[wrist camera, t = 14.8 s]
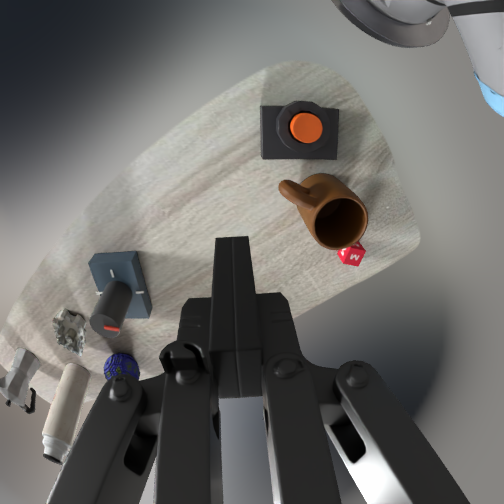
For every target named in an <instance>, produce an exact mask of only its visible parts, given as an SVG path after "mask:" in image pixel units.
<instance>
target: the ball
mask: <svg viewBox="0 0 504 504" xmlns="http://www.w3.org/2000/svg"><path fill="white" fill-rule="evenodd" d="M139 370H140V369H139V367H138V364H137V362H136V361H135V360H134V359H133V358H132V357H131V356H129V355H126V354H121V353H118V354H113V355H112V356H110V357H109V358H108V359H107V361H106V362H105V365H104V374H105V378H106V379H107V381H108V380H109V379H110V378H112V377H114V376H116V375H120V374H128V375H132V376H133V377H135V378H137V379H138V381H139V376H140V371H139Z"/></svg>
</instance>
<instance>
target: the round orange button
mask: <svg viewBox="0 0 504 504" xmlns="http://www.w3.org/2000/svg"><path fill="white" fill-rule="evenodd" d="M322 129H323V128H322V123H321V121H320V120H319V118H318V117H316V116H315V115H313V114H309V113H299V114H297V115H296V116H294V117H293V119H292V120H291V123H290V130H291V133H292V135H293V136H294V137H295V138H297V139H298V140H300V141H301V142H304V143H312V142H314V141H316V140H317V139H318V138H319V137H320V136H321V134H322Z"/></svg>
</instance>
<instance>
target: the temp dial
mask: <svg viewBox="0 0 504 504" xmlns="http://www.w3.org/2000/svg"><path fill="white" fill-rule="evenodd" d="M132 297H133V295H132V291H131V289H130V288H129V287H128V286H127V285H126V284H124V283H123V282H120V281H111V282H109V283H108V284H107V285H106V287H105V289H104V291H103V293H102V295H101V297H100V299H99V301H98V303H97V305H96V307H95V309H94V311H93V313H92V315H91V317H90V320H89V321H90V325H91V327H92V328H93V330H94V331H95V332H97V333H98V334H100V335H101V336H104V337H107V338H114V337H116V336H118V335H119V333H120V330H121V328H122V325H123V322H124V319H125V316H126V314H127V311H128V308H129V306H130V303H131V300H132Z"/></svg>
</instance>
